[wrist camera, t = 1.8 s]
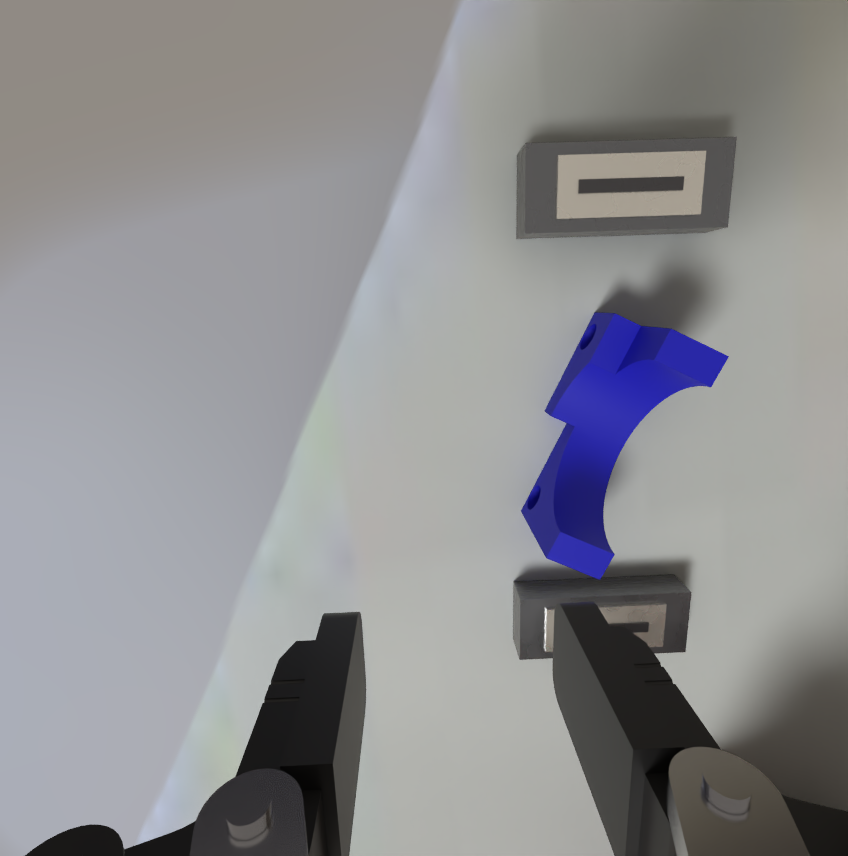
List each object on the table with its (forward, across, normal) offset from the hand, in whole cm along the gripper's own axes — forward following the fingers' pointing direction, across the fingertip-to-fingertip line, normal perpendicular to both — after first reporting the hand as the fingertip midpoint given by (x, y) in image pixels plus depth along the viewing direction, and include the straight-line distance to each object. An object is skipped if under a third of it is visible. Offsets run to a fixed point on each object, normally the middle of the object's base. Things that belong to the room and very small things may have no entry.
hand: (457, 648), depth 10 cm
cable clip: (+20, -9, 0) cm, 21 cm away
